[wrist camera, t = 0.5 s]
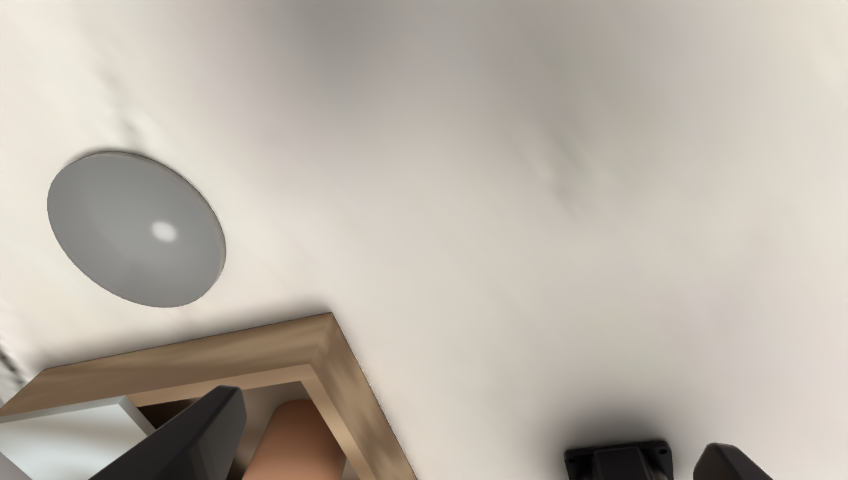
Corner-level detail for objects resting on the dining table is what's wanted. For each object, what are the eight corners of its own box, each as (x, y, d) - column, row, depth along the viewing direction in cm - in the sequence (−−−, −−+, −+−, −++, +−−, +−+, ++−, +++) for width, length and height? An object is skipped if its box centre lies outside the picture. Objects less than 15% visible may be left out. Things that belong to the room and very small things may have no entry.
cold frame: (421, 487, 33) (414, 556, 29) (174, 510, 38) (139, 571, 34) (331, 312, 25) (305, 372, 21) (38, 370, 31) (-27, 428, 27)
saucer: (254, 282, 25) (248, 290, 24) (127, 311, 27) (118, 320, 26) (165, 130, 21) (154, 134, 20) (23, 177, 23) (9, 183, 22)
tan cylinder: (365, 449, 30) (338, 564, 24) (293, 458, 32) (251, 569, 26) (333, 393, 28) (294, 506, 22) (256, 405, 29) (200, 514, 23)
